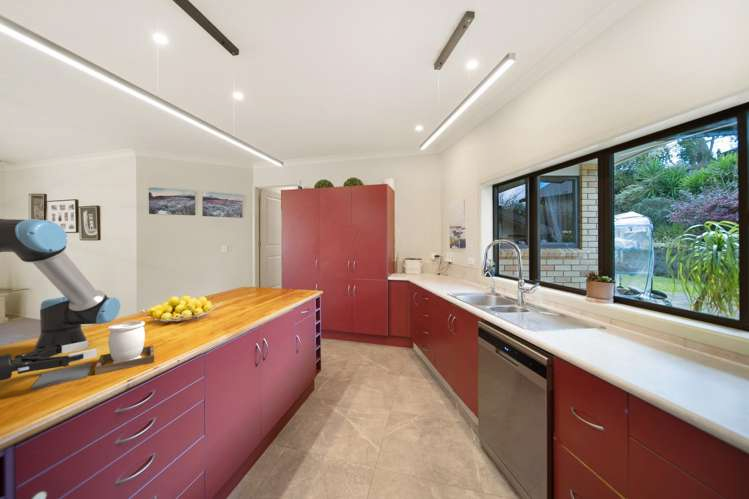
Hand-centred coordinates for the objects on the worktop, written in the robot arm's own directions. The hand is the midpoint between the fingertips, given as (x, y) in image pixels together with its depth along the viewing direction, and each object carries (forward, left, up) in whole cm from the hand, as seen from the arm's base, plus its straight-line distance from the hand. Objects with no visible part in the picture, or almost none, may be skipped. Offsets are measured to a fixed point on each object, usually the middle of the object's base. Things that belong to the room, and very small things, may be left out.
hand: (92, 348), depth 95 cm
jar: (-3, +9, -9) cm, 13 cm away
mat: (-2, -7, -8) cm, 11 cm away
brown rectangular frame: (-3, +9, -8) cm, 13 cm away
